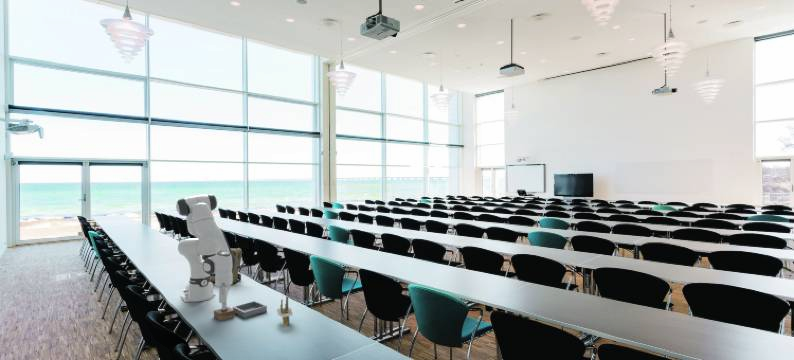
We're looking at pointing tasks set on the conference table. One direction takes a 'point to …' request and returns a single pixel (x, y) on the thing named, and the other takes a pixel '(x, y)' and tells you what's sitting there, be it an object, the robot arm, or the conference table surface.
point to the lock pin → (224, 308)
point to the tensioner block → (224, 314)
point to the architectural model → (285, 312)
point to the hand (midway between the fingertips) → (224, 305)
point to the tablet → (235, 273)
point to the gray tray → (250, 309)
